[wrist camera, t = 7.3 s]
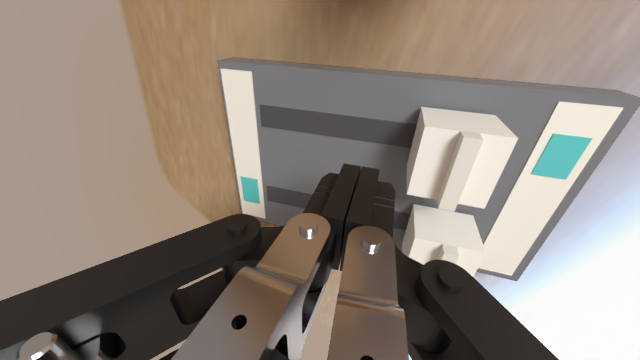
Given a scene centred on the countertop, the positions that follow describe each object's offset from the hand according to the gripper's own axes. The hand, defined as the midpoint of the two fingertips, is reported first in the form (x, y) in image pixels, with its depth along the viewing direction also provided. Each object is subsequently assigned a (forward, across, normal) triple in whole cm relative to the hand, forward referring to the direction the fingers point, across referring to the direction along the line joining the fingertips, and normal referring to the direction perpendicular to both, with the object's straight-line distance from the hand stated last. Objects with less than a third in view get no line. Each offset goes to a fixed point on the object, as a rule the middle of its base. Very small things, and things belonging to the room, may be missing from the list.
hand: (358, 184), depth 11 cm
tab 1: (+7, -4, 0) cm, 8 cm away
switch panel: (+9, -1, +4) cm, 10 cm away
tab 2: (+7, -6, +7) cm, 12 cm away
